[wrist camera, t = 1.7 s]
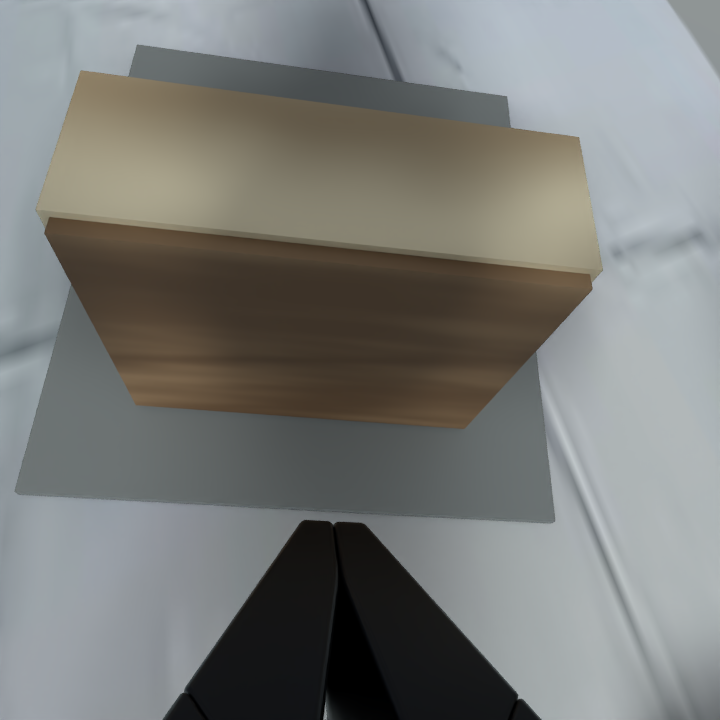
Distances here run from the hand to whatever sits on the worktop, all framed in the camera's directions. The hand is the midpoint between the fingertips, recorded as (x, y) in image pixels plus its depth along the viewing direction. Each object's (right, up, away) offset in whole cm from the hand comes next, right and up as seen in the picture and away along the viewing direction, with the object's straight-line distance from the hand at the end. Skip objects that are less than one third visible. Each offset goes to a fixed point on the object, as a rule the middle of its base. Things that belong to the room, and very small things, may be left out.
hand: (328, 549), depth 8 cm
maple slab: (-1, +3, +14) cm, 15 cm away
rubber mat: (-1, +7, +17) cm, 18 cm away
